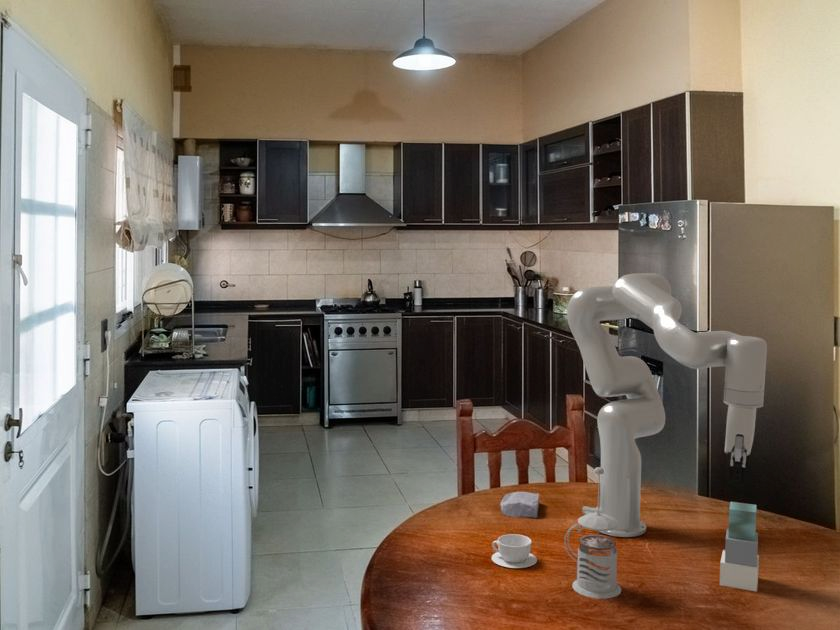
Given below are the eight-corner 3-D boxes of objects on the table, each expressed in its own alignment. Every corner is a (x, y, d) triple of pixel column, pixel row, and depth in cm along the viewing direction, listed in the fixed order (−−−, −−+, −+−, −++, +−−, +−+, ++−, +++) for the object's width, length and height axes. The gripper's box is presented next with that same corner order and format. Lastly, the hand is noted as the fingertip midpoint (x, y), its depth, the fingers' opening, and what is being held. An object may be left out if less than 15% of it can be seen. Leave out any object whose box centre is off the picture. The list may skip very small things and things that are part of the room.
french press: (612, 603, 151) (615, 477, 148) (556, 589, 157) (558, 468, 154) (628, 584, 159) (630, 464, 157) (573, 571, 165) (575, 456, 163)
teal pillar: (728, 537, 158) (729, 509, 157) (729, 529, 163) (730, 501, 162) (755, 541, 156) (756, 512, 155) (755, 533, 161) (756, 504, 160)
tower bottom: (719, 585, 159) (720, 562, 158) (722, 572, 165) (723, 549, 164) (756, 592, 156) (757, 568, 155) (758, 578, 162) (759, 555, 161)
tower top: (724, 562, 158) (725, 538, 157) (725, 551, 163) (726, 528, 163) (756, 567, 156) (757, 543, 155) (757, 556, 161) (757, 533, 161)
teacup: (541, 555, 174) (542, 535, 174) (530, 573, 165) (530, 551, 164) (498, 549, 178) (499, 529, 177) (485, 565, 169) (485, 545, 168)
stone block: (501, 524, 198) (540, 518, 197) (498, 505, 198) (537, 500, 197) (504, 510, 210) (541, 505, 208) (501, 492, 210) (538, 487, 208)
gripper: (727, 387, 168) (722, 464, 170) (720, 403, 152) (715, 487, 154) (765, 391, 165) (759, 469, 167) (762, 408, 149) (756, 494, 151)
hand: (738, 478), depth 160 cm, fingers open, 9 cm apart
